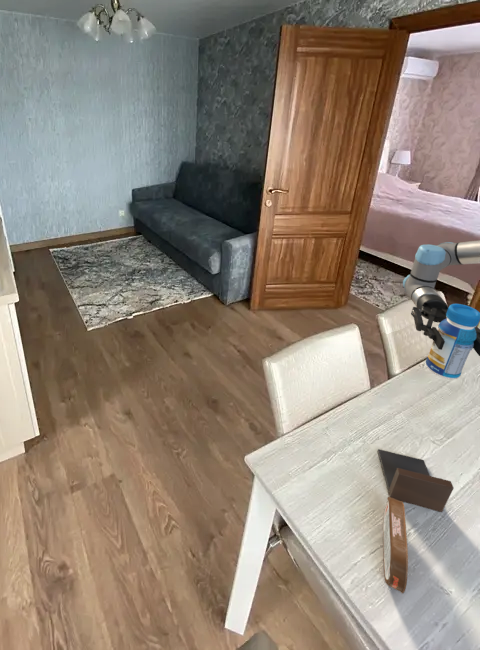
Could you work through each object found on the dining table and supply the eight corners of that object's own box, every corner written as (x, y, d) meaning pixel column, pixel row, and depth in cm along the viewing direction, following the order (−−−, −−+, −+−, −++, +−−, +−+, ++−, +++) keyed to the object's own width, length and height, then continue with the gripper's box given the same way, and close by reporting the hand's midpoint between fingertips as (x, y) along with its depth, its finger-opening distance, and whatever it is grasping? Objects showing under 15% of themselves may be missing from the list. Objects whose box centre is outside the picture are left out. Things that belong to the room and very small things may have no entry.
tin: (400, 604, 60) (414, 577, 57) (380, 593, 61) (392, 566, 58) (396, 519, 72) (407, 493, 69) (379, 511, 73) (389, 485, 70)
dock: (377, 451, 86) (384, 428, 83) (422, 462, 84) (432, 439, 81) (389, 498, 76) (399, 474, 73) (442, 512, 73) (454, 488, 70)
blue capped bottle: (459, 385, 92) (486, 323, 85) (422, 370, 97) (444, 311, 90) (461, 368, 98) (486, 309, 91) (426, 355, 103) (446, 298, 96)
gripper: (464, 319, 108) (505, 368, 88) (389, 308, 114) (411, 352, 94) (473, 299, 105) (517, 344, 85) (395, 288, 111) (419, 329, 91)
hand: (462, 348), depth 90 cm, fingers closed on blue capped bottle, 8 cm apart
